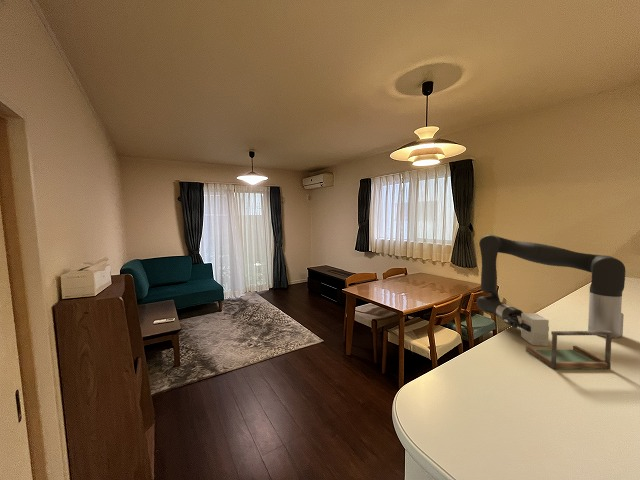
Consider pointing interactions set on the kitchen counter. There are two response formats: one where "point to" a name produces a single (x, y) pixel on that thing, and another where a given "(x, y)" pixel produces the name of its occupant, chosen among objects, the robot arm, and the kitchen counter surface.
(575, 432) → the kitchen counter surface
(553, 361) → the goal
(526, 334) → the small box
